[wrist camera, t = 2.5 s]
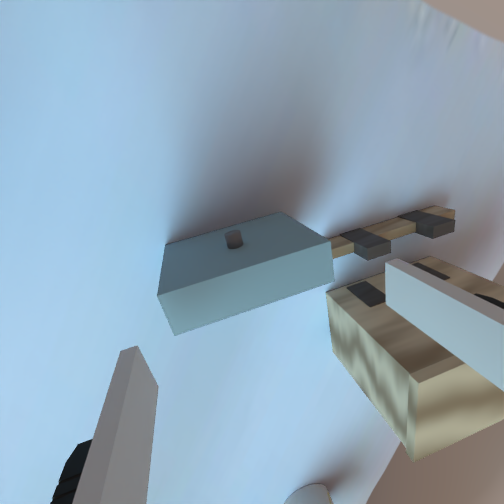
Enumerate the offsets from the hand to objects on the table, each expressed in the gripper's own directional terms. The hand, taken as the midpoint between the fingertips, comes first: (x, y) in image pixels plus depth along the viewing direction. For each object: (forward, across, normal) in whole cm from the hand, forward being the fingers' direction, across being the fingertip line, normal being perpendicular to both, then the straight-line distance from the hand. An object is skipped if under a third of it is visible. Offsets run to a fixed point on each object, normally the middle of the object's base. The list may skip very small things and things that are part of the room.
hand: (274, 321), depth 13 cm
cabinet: (+12, +16, -10) cm, 22 cm away
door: (+12, 0, 0) cm, 12 cm away
